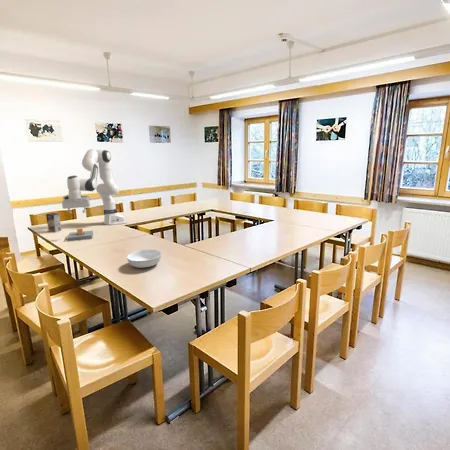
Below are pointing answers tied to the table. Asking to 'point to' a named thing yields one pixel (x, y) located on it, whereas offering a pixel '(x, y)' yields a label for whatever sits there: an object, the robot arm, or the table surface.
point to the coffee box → (53, 222)
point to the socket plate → (80, 236)
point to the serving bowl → (144, 258)
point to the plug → (80, 231)
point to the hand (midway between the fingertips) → (77, 213)
